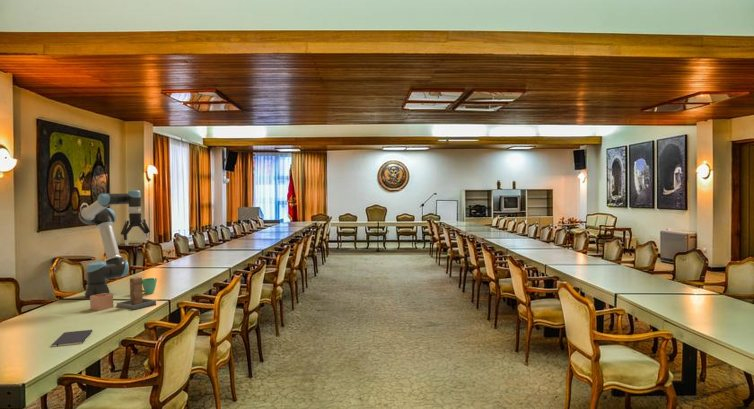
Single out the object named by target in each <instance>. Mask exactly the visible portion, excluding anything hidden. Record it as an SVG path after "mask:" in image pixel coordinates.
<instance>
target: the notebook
mask: <svg viewBox="0 0 754 409" xmlns="http://www.w3.org/2000/svg"><path fill="white" fill-rule="evenodd" d="M91 332H92V333H93V329H87V330H75V331H73V330H72V331H65V332H63V333H62V334H61V335H60V336H59V337H58V338H57V339H56V340H55V341H54V342H52V344H51V345H52V346H51V347H53V346H54V347H62V346H61V345H64V346H71V345H70V344H74V345H79V344H78V343H82V344H83V343H84V342H85V341H86V340H87V339H86V338H87V337H89V336H90V335H91V334H92V333H91ZM85 339H86V340H85Z"/></svg>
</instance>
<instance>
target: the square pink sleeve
mask: <svg viewBox="0 0 754 409" xmlns="http://www.w3.org/2000/svg"><path fill="white" fill-rule="evenodd" d="M89 304H90V307H89V309H90V310H94V311H103V310H108V309H112V308H114V294H112V293H110V294H107V293H102V294H97V295H92V296H90V298H89Z"/></svg>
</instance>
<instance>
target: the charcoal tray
mask: <svg viewBox="0 0 754 409" xmlns="http://www.w3.org/2000/svg"><path fill="white" fill-rule="evenodd" d="M156 305H157V300H156V299H148V298H143V303H141V304H137V305H130V299H129V300H125V301H120V302H117V303H116V307H119V308H124V309H129V310H131V311H133V312H134V311H137V310H141V309H145V308H150V307H153V306H156Z"/></svg>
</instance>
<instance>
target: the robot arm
mask: <svg viewBox="0 0 754 409" xmlns="http://www.w3.org/2000/svg"><path fill="white" fill-rule="evenodd" d="M141 198H142V195H141V191H140V190H139V189H138V190H129V191H128V193H126V192H123V193H100V194H98V196H97V200H95V201H94V202H93V203H92V204H90V205H88V206H85V207H84V208H82V209H81V210H80V211H79V213H78V219H79V221H81V223H83V224H85V225H95V227H96V229H98V230H99V233H100V237H101V241H102V246H103V249H104V252H105V256H106V260H101V261H95V262H91V263H89V264H87V267H86V280H87V281H86V282H87V286H86V288H85V293H84V297H85V298H87V299H88V298H89V299H90V296H92V295H97V294H102V293H107V294H111V292H110V289H109V286H108V284H107V280H110V279H111V280H112V279H117V278H122V277H125V276H127V275H128V273H129V261H127V259H126V260H125V259H124V257H123V256H121V255H120V250H119V247H118V242H117V240H116V235H115V232H114V228H113V226H114V225H115V222H116V221H117V220H116V213H115V211H114V210H113V209H112V208H109V207H110V206H113V205H114V206H115V205H128V219H129V220H125V221H124V225H123V227H122V228H121V229H122V230H121V232H120V235H123V241H124V246H129V235H128V234H129V233H130V231H131V230H132V228H134V227H138V228H139V229H140V230H141V231H142V232H143V233H142V240H143V241H142V242H143V243H145V244H147V242H148V240H147V238H148V234H149V233H150V232H151V231H150V229H149V226H148V224H147V221H146V219H144V218H143V219H142V199H141Z"/></svg>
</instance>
